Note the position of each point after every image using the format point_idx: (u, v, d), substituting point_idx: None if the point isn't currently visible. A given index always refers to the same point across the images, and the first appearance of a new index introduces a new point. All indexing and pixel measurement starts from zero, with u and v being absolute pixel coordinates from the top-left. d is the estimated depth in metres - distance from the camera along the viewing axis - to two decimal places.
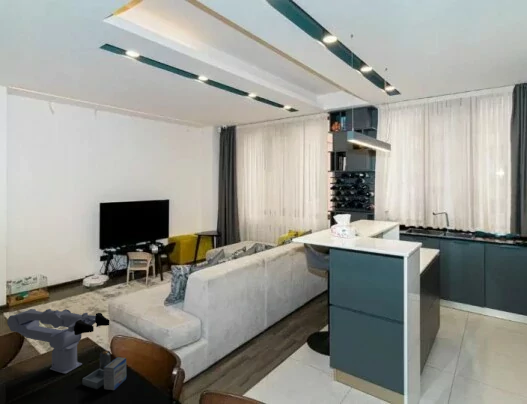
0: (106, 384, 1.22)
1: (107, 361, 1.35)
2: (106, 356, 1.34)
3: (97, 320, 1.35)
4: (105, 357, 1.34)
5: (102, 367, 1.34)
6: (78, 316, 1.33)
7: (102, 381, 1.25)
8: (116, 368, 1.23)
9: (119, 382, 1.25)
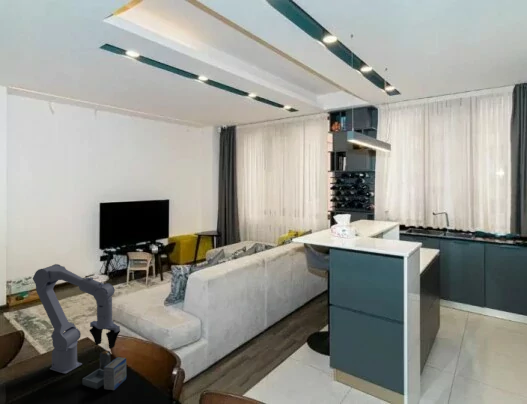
0: (106, 384, 1.22)
1: (107, 361, 1.35)
2: (106, 356, 1.34)
3: (98, 330, 1.37)
4: (105, 357, 1.34)
5: (102, 367, 1.34)
6: None
7: (102, 381, 1.25)
8: (116, 368, 1.23)
9: (119, 382, 1.25)
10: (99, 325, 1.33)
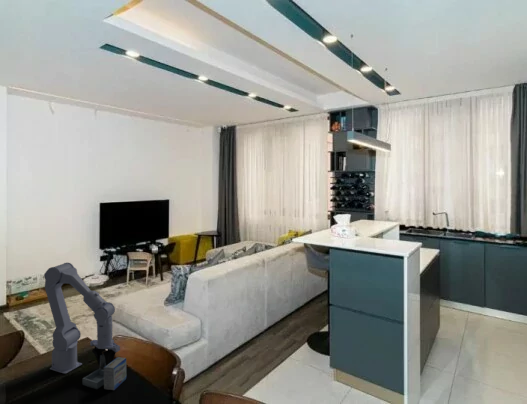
0: (106, 384, 1.22)
1: None
2: None
3: (101, 349, 1.37)
4: None
5: (102, 367, 1.34)
6: None
7: (102, 381, 1.25)
8: (116, 368, 1.23)
9: (119, 382, 1.25)
10: (99, 345, 1.33)
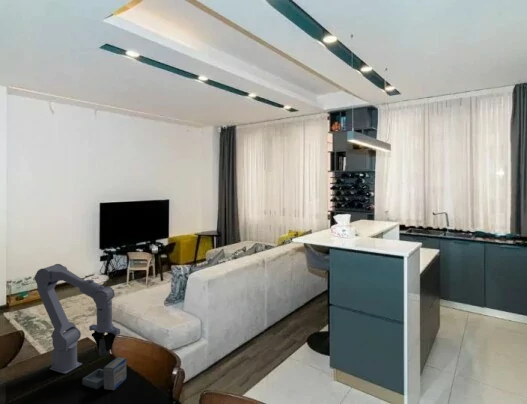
0: (106, 384, 1.22)
1: None
2: None
3: (100, 334, 1.36)
4: None
5: (102, 351, 1.33)
6: None
7: (102, 381, 1.25)
8: (116, 368, 1.23)
9: (119, 382, 1.25)
10: (99, 328, 1.32)
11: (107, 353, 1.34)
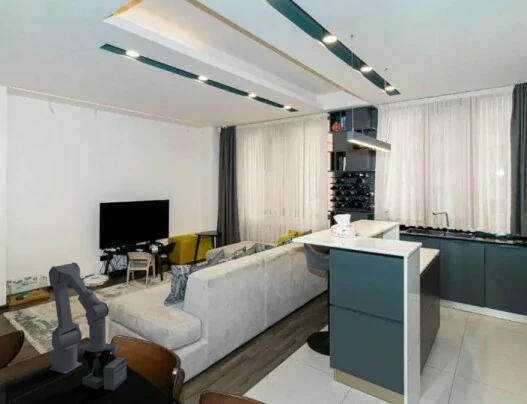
0: (106, 384, 1.22)
1: None
2: None
3: (92, 353, 1.27)
4: (100, 360, 1.26)
5: (97, 371, 1.25)
6: None
7: (102, 381, 1.25)
8: (116, 368, 1.23)
9: (119, 382, 1.25)
10: (94, 347, 1.24)
11: (102, 372, 1.27)
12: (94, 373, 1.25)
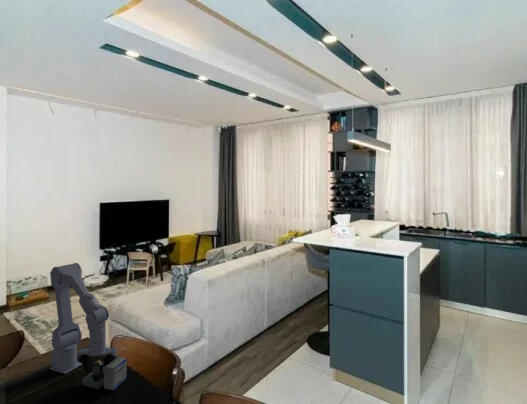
0: (106, 384, 1.22)
1: (102, 371, 1.27)
2: (101, 365, 1.26)
3: (89, 358, 1.27)
4: (100, 366, 1.26)
5: (97, 378, 1.25)
6: None
7: (102, 381, 1.25)
8: (116, 368, 1.23)
9: (119, 382, 1.25)
10: (94, 352, 1.24)
11: None
12: (94, 380, 1.25)
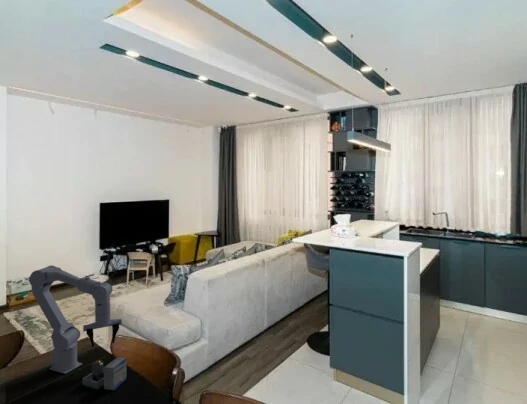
0: (106, 384, 1.22)
1: (102, 371, 1.27)
2: (101, 365, 1.26)
3: None
4: (100, 366, 1.26)
5: (97, 378, 1.25)
6: None
7: (102, 381, 1.25)
8: (116, 368, 1.23)
9: (119, 382, 1.25)
10: (103, 323, 1.34)
11: None
12: (94, 380, 1.25)
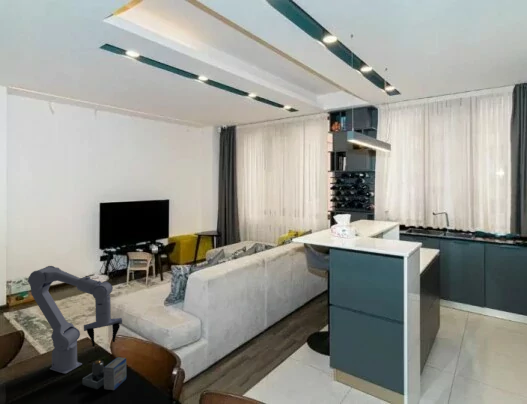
0: (106, 384, 1.22)
1: (102, 371, 1.27)
2: (101, 365, 1.26)
3: (93, 331, 1.35)
4: (100, 366, 1.26)
5: (97, 378, 1.25)
6: None
7: (102, 381, 1.25)
8: (116, 368, 1.23)
9: (119, 382, 1.25)
10: (104, 322, 1.35)
11: None
12: (94, 380, 1.25)
